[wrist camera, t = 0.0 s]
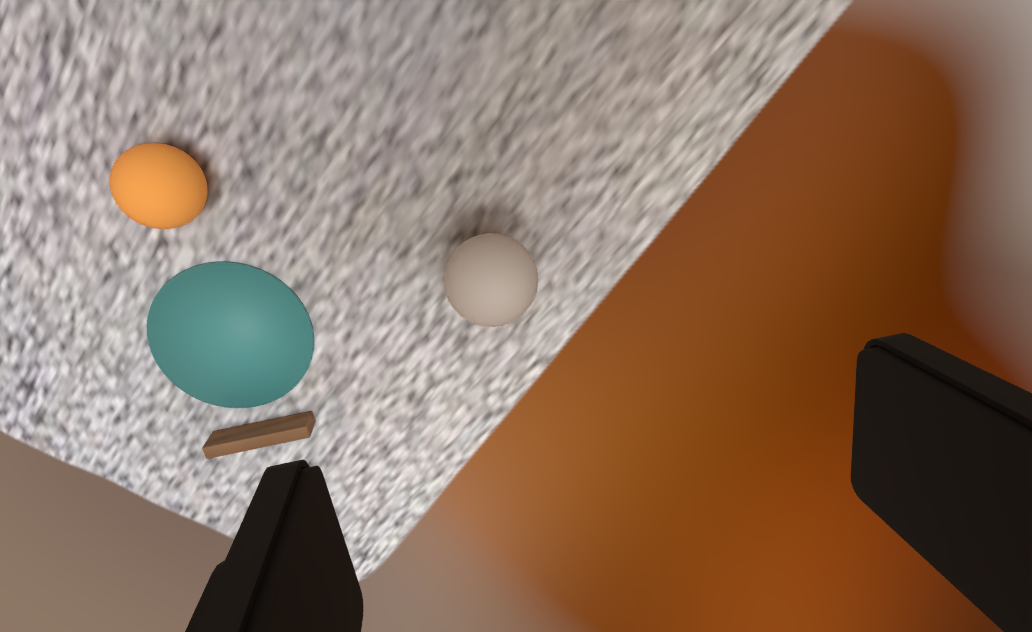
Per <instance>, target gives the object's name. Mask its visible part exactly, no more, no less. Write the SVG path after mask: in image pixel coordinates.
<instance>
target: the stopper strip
mask: <svg viewBox="0 0 1032 632" xmlns="http://www.w3.org/2000/svg"><path fill="white" fill-rule="evenodd" d="M315 422H316V421H315V418H314V415H313V412H312V411H310V412H305V413H300V414H295V415H290V416H285V417H280V418H276V419H271V420H266V421H261V422H256V423H251V424H246V425H242V426H237V427H232V428H227V429H222V430H217V431H213V432H212V434H211V435H210V437H209V438H208V440H207V441H206V443H205V444H204V446H203V448H202V449H203V452H204V454H205V456H206V459H209V458H214V457H218V456H223V455H228V454H233V453H238V452H242V451H247V450H252V449H257V448H262V447H266V446H271V445H276V444H281V443H285V442H290V441H295V440H300V439H305V438H309V437H310V436H311V433H312V430H313V427H314V424H315Z"/></svg>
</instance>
